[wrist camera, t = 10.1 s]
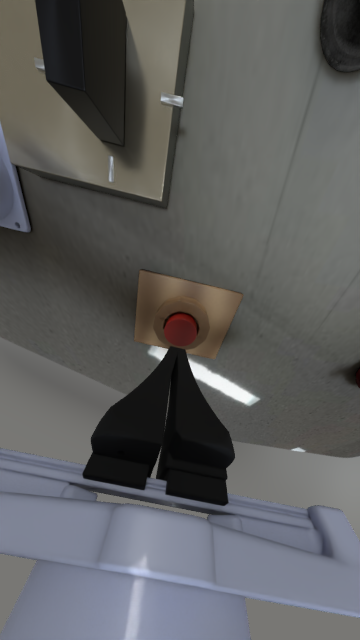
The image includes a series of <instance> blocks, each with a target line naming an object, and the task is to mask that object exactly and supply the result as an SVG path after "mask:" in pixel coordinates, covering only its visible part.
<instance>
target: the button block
mask: <svg viewBox="0 0 360 640" xmlns="http://www.w3.org/2000/svg"><path fill="white" fill-rule="evenodd" d="M242 298H243V294H242V293H239V292H234V291H230V290H226V289H222V288H218V287H214V286H210V285H205V284H201V283H197V282H193V281H189V280H185V279H180V278H176V277H172V276H168V275H164V274H160V273H156V272H151V271H147V270H143V269H141V270H139V281H138V294H137V308H136V321H135V335H134V341H136V342H141V343H145V344H149V345H154V346H158V347H162V348H167V349H169V347H170V346H173V347H177V348H182V349H185V350H186V353H189V354H193V355H197V356H202V357H206V358H211V359H215V358H216V355H217V353H218V351H219V349H220V347H221V344H222V342H223V340H224V338H225V335H226V333H227V331H228V329H229V327H230V324H231V322H232V320H233V318H234V315H235V313H236V311H237V309H238V307H239V304H240V302H241V300H242ZM176 313H185V314H188V315H190V316H191V317H192V318H193V319H194V320H195V322H196V326H197V336H196V339H195V340H194V341H193V342H192V343H191V344H189V345H187V346H175V345H173V344H171V343H170V342H168V340H167V339H166V338H165V335H164V329H165V326H166V323H167V320H168V319H169V317H171V316H172V315H174V314H176Z"/></svg>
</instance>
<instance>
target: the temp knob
mask: <svg viewBox="0 0 360 640" xmlns="http://www.w3.org/2000/svg"><path fill="white" fill-rule="evenodd" d="M35 4H36V11H37V18H38V26H39V33H40V40H41V47H42V54H43V61H44V69H45V76H46V81H47V82H48V83H49V84H50V85H51V86H52V87H53V89H54V90H55V91H56V92H57V93H58V94H59V95H60V96H61V98H62V99H63V100H64V101H65V102H66V103H67V104H68V105H69V107H70V108H71V109H72V110H73V111H74V112H75V113H76V114H77V115H78V117H79V118H80V119H81V120H82V121H83V122H84V123H85V124H86V126H87V127H88V128H89V129H90V130H91V131H92V132H93V133H94V134H95V136H96V137H97V138H98V139H100V140H104V141H108V142H112V143H115V144H119V145H123V144H124V90H125V35H126V11H125V8H124V4H123V1H122V0H35Z"/></svg>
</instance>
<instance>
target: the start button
mask: <svg viewBox="0 0 360 640" xmlns="http://www.w3.org/2000/svg"><path fill="white" fill-rule="evenodd" d="M164 335H165V338H166V339H167V340H168V342H170V343H171V344H173V345H175V346H187V345H189V344H191V343H192V342H193V341H194V340H195V339H196V336H197V326H196V322H195V320H194V319H193V318H192V317H191V316H190V315H188V314H185V313H176V314H174V315H172V316H171V317H169V319H168V320H167V323H166V326H165V329H164Z"/></svg>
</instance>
